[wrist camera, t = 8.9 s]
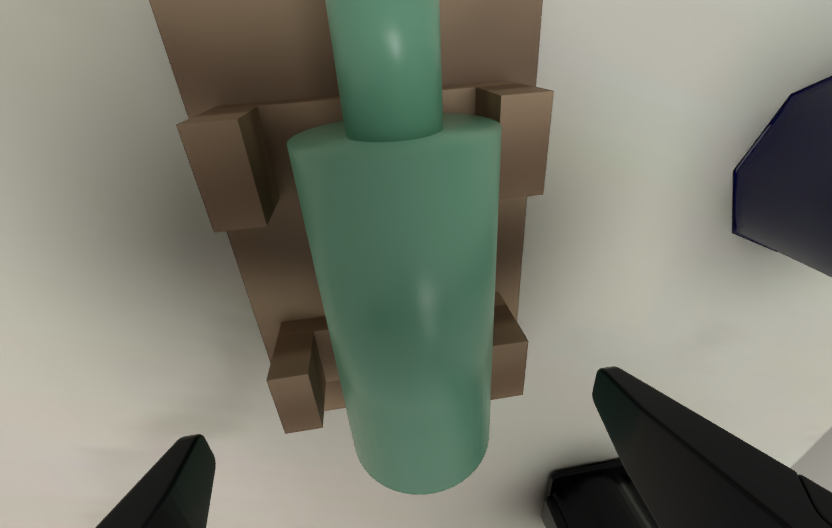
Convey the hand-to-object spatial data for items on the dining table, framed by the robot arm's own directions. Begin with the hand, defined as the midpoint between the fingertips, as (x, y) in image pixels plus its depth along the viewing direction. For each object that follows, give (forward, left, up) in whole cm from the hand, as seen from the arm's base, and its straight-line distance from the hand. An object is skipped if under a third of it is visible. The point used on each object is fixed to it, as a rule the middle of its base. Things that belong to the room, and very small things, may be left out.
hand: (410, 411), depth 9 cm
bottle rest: (0, 0, -10) cm, 10 cm away
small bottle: (0, -1, -7) cm, 8 cm away
